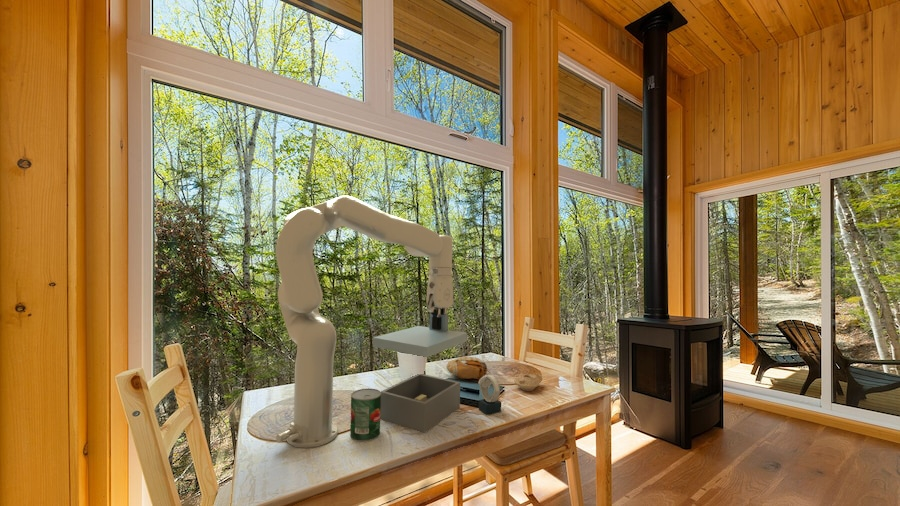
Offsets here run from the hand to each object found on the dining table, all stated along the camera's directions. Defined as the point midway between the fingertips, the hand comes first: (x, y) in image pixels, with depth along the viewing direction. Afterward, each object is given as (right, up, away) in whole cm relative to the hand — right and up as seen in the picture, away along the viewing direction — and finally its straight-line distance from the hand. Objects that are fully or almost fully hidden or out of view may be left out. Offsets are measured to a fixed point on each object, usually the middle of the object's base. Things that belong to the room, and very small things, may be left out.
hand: (438, 328), depth 120 cm
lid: (-5, -3, -8) cm, 10 cm away
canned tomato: (-19, -24, -22) cm, 38 cm away
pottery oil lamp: (+34, -26, +15) cm, 45 cm away
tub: (-5, -24, -8) cm, 26 cm away
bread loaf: (+12, -25, +23) cm, 36 cm away
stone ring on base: (+16, -25, -6) cm, 30 cm away
